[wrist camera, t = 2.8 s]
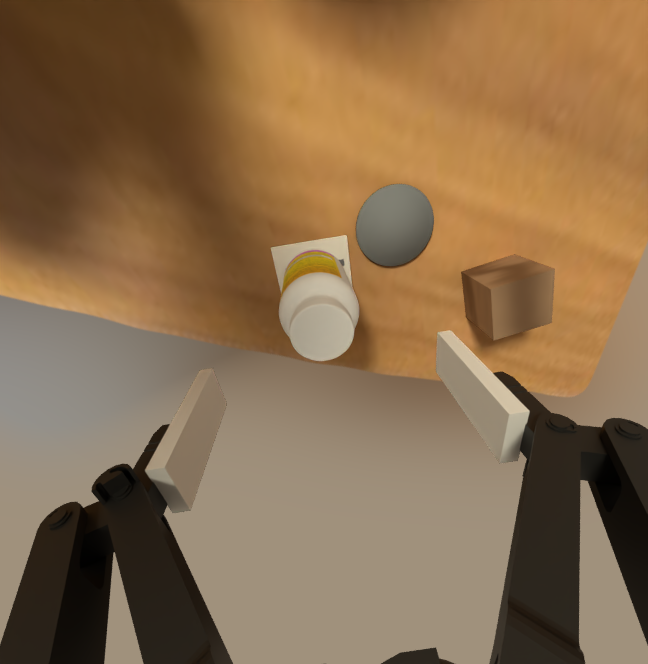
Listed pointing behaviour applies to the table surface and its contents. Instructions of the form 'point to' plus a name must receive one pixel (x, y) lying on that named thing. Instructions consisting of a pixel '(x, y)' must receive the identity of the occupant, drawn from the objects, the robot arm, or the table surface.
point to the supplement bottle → (318, 305)
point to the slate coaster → (394, 224)
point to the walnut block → (508, 296)
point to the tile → (331, 245)
